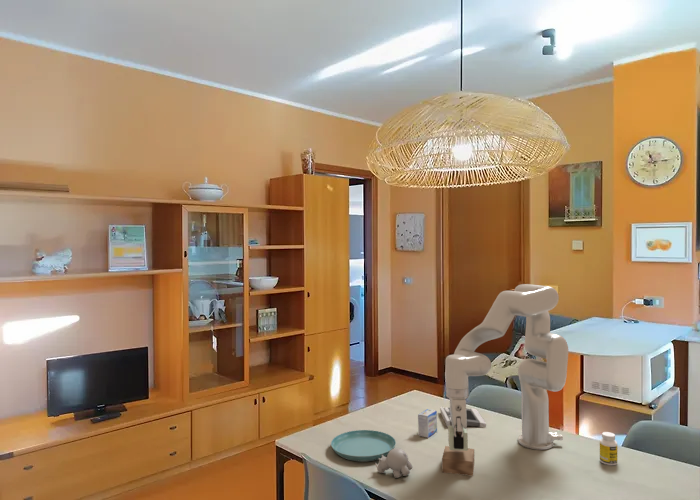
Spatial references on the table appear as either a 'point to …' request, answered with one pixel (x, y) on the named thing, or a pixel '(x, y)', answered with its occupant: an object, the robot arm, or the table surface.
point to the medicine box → (427, 423)
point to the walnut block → (458, 461)
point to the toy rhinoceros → (395, 463)
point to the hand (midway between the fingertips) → (457, 443)
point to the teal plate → (363, 445)
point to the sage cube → (451, 438)
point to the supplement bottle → (608, 449)
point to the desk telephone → (472, 417)
